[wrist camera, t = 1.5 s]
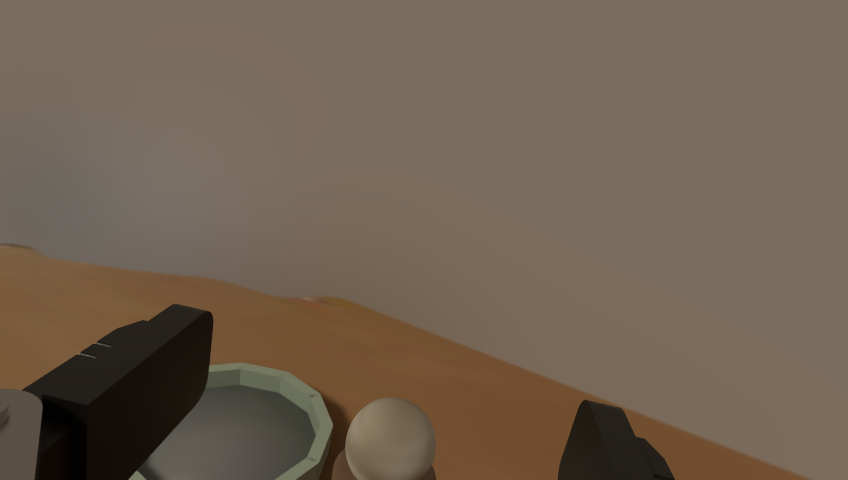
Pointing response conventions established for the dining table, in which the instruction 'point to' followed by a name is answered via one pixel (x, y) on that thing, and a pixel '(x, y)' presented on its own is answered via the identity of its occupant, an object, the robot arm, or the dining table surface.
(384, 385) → the dining table surface
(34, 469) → the robot arm
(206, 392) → the round tray
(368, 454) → the wooden peg figure
